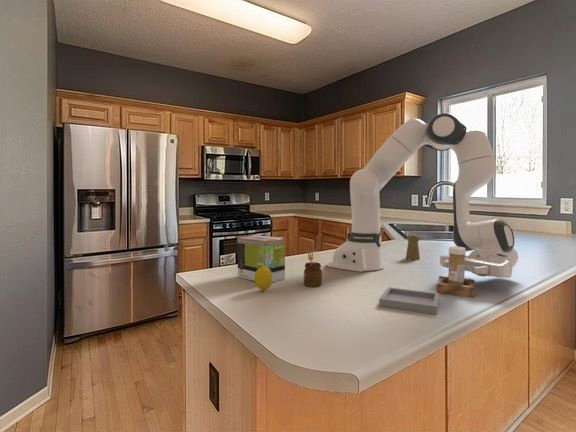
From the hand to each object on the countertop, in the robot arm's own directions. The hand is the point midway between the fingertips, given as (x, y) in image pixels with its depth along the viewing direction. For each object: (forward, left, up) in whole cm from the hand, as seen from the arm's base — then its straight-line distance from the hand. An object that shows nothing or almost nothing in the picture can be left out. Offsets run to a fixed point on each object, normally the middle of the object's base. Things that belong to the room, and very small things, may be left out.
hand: (458, 267), depth 103 cm
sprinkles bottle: (-1, -1, -7) cm, 7 cm away
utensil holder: (-43, -14, -7) cm, 46 cm away
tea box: (-63, -14, -7) cm, 65 cm away
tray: (-12, -19, -7) cm, 23 cm away
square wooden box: (-1, -1, -7) cm, 7 cm away
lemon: (-54, -27, -7) cm, 61 cm away
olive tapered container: (-19, +44, -7) cm, 48 cm away
